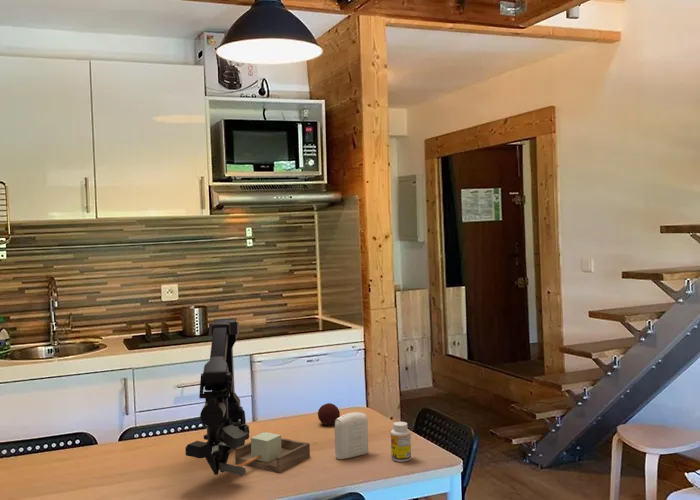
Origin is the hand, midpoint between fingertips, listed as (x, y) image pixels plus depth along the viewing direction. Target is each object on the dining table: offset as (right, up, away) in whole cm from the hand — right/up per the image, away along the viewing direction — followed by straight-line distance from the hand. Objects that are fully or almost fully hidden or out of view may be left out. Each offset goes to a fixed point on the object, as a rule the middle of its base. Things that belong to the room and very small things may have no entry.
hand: (219, 473), depth 181 cm
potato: (+28, +1, +47) cm, 54 cm away
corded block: (+8, 0, +5) cm, 9 cm away
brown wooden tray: (+13, -1, +14) cm, 19 cm away
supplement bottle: (+49, 0, +12) cm, 51 cm away
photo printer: (+36, 0, +16) cm, 39 cm away
